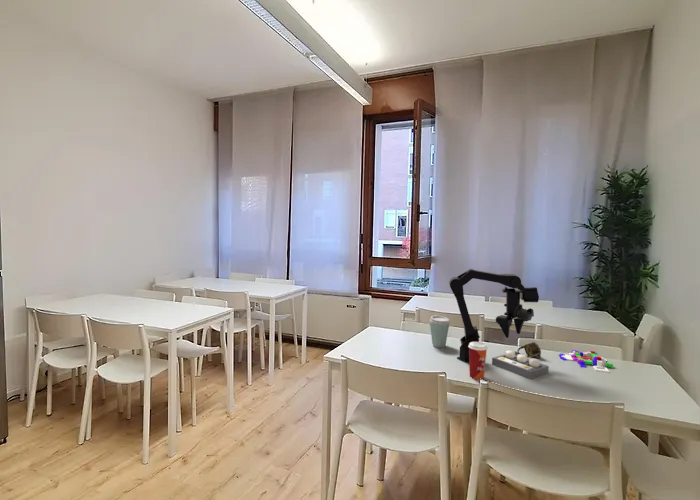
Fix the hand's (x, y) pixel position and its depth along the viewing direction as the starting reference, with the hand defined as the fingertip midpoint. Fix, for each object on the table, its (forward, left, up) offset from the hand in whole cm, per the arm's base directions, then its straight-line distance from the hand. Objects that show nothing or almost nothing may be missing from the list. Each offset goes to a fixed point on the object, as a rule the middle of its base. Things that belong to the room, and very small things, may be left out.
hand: (512, 335), depth 180 cm
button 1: (-1, 0, -11) cm, 11 cm away
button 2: (-1, -12, -11) cm, 16 cm away
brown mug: (+14, +2, -13) cm, 20 cm away
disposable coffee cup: (-12, +35, -13) cm, 39 cm away
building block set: (+33, -15, -14) cm, 39 cm away
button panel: (-3, -6, -13) cm, 14 cm away
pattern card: (-7, -6, -10) cm, 13 cm away
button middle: (-1, -6, -11) cm, 12 cm away
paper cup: (-27, -2, -13) cm, 30 cm away
